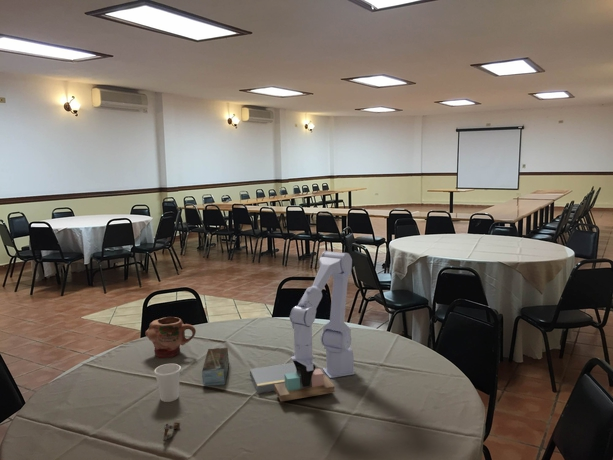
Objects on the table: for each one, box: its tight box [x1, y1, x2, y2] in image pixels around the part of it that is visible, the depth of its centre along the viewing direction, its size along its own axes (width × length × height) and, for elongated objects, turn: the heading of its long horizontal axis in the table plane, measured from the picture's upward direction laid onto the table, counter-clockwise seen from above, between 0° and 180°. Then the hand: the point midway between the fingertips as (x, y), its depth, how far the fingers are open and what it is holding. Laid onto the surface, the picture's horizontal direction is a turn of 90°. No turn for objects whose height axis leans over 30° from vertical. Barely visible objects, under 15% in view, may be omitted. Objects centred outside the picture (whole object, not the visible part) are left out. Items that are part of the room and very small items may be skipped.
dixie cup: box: [153, 363, 182, 403], centre depth 160 cm, size 8×8×10 cm
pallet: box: [274, 370, 336, 402], centre depth 159 cm, size 18×8×6 cm, turn 107°
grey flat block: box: [249, 362, 297, 394], centre depth 171 cm, size 20×14×3 cm
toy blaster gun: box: [162, 421, 181, 443], centre depth 138 cm, size 2×8×4 cm, turn 169°
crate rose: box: [312, 368, 325, 387], centre depth 160 cm, size 4×4×4 cm
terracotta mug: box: [144, 316, 197, 359], centre depth 196 cm, size 20×12×14 cm, turn 95°
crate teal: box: [284, 372, 300, 391], centre depth 157 cm, size 4×4×4 cm
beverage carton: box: [201, 347, 230, 387], centre depth 177 cm, size 8×19×7 cm, turn 5°
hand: (304, 382), depth 159 cm, fingers closed on pallet, 4 cm apart
